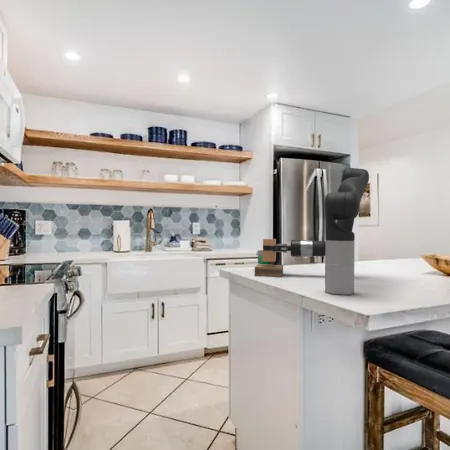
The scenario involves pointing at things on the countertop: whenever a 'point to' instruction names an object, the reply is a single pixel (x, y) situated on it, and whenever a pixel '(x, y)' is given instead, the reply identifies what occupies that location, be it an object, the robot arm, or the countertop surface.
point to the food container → (260, 258)
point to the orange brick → (269, 255)
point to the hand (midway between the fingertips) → (264, 247)
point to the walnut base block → (269, 270)
